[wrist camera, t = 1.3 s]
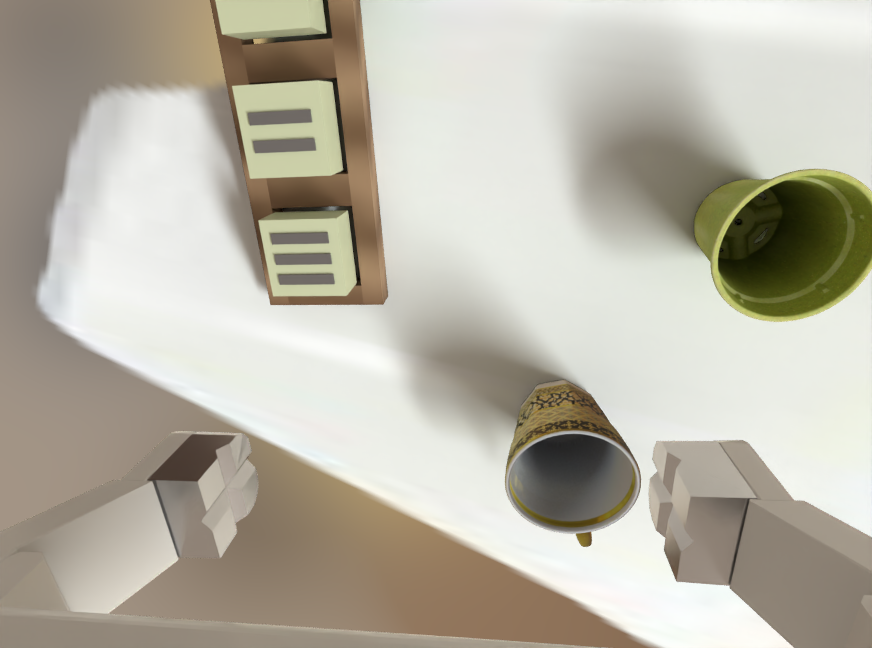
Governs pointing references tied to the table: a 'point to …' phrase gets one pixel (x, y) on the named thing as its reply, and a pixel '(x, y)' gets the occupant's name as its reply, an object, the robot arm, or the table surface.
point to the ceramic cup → (569, 463)
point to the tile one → (270, 18)
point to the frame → (360, 181)
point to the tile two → (289, 129)
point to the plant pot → (787, 242)
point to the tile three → (309, 253)
